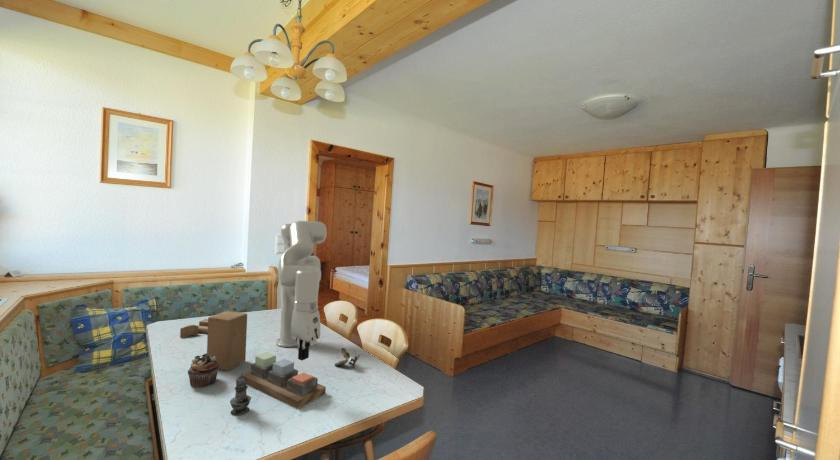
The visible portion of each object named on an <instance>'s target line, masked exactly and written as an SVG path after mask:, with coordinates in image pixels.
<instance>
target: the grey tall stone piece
mask: <svg viewBox="0 0 840 460" xmlns="http://www.w3.org/2000/svg"><path fill="white" fill-rule="evenodd" d="M235 383H236V384H235V387H234V391H235V394H234V395H235V396H233V397H232V398H231V399H230V400H229V404H230V406H231V408H232V410H231V411H230V415H231V416H234V417H240V416H244V415H246V414H248V413H249V412H250V409H251V408H250V407H249V405H250V402H251V400H252V397H251V395H247V389H248V388H249V387H248V386H249V385H247V384H246V383H247V377H246V376H244V375H243V373H242V372H241V373H240V375H239V376H237V377H236V382H235Z"/></svg>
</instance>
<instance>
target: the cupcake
mask: <svg viewBox="0 0 840 460" xmlns="http://www.w3.org/2000/svg"><path fill="white" fill-rule="evenodd" d="M219 370H220V369H219V365H218V362H217V360H216V357H215V356H213V355H212V356H208V354H207V352H206V353H203V354H202V355H196V356H194V357H193V358H192V359H191V364H190V367H189V369H188V370H187V375H188V379H189V386H190V387H193V388H197V389H198V388H199V389H200V388H205V387H209V386H212V385H213V384H215V383H216V382H217V381H216V380H217V377H218V374H219Z"/></svg>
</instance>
